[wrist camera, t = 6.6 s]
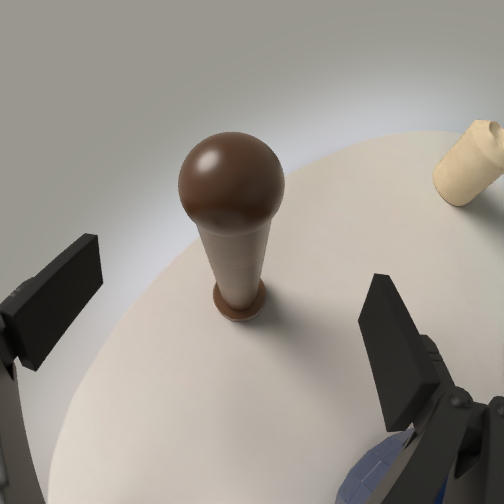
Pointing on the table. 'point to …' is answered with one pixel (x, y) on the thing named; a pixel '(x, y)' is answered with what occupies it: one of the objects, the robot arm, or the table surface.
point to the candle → (471, 163)
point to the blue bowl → (375, 471)
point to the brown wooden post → (233, 214)
